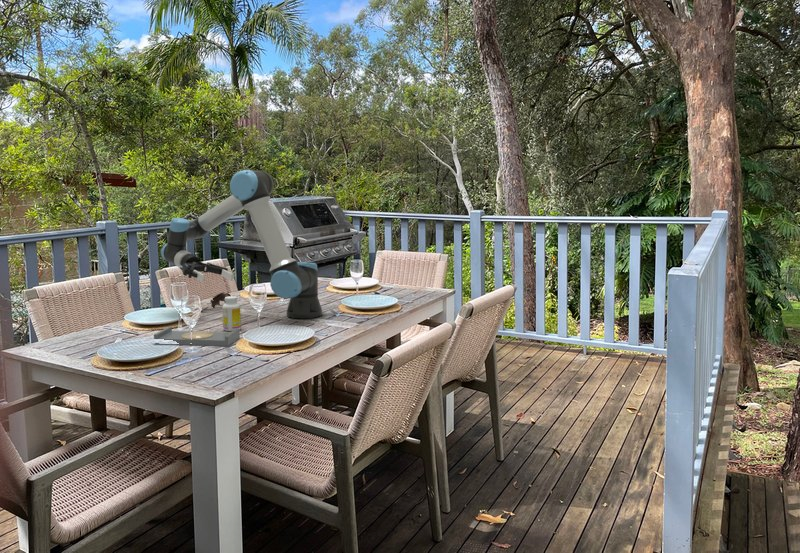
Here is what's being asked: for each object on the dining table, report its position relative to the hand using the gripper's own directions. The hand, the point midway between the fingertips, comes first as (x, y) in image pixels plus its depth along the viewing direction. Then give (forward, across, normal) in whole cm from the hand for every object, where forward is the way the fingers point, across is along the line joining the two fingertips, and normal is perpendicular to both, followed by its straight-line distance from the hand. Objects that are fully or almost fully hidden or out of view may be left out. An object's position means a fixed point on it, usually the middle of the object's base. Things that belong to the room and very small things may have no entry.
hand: (218, 278), depth 255 cm
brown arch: (-22, -24, -23) cm, 39 cm away
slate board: (+19, +18, -17) cm, 31 cm away
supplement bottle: (+14, 0, -17) cm, 22 cm away
